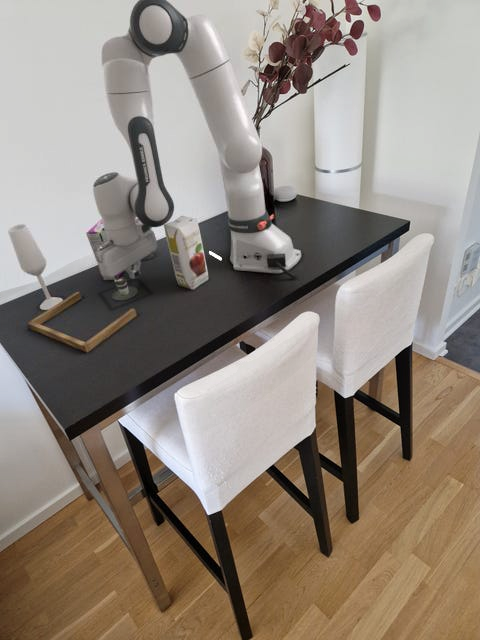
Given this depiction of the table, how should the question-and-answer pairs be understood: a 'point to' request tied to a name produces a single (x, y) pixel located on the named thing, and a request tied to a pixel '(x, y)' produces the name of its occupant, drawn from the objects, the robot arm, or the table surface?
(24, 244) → the champagne flute
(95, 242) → the candy bar box
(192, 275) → the juice carton
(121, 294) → the grey round stand
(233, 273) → the table surface
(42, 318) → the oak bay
